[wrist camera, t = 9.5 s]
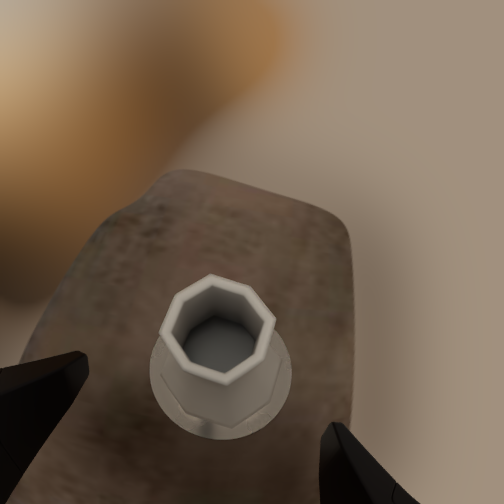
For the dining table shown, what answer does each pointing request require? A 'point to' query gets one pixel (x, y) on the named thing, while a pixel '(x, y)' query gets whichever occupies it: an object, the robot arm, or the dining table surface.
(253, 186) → the dining table surface
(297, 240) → the dining table surface
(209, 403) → the flask
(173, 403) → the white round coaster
